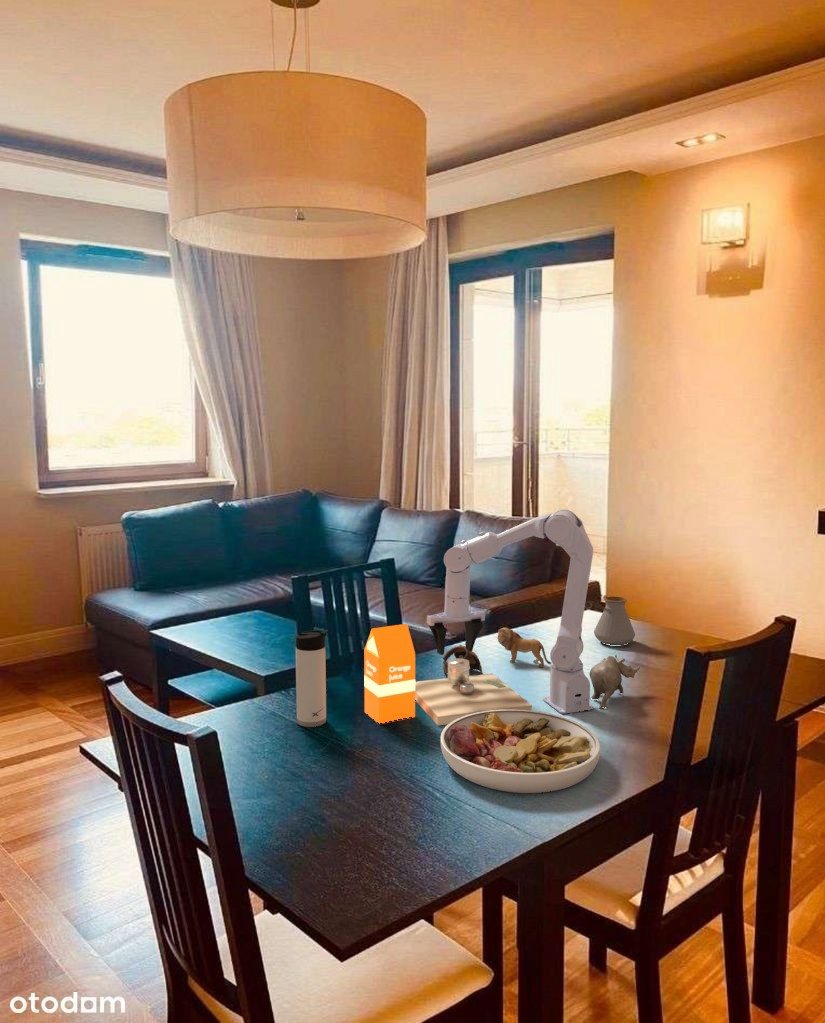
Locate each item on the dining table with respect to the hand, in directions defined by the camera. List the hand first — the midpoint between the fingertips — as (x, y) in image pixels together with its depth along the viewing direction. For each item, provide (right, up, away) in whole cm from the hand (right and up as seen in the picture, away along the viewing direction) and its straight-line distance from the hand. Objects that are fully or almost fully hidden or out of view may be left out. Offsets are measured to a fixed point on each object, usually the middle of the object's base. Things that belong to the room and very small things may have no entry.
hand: (454, 651), depth 191 cm
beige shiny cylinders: (+1, -7, -3) cm, 8 cm away
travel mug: (-32, -12, -18) cm, 38 cm away
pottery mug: (+3, -8, +14) cm, 16 cm away
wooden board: (+2, -10, -6) cm, 12 cm away
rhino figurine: (+36, -10, -3) cm, 38 cm away
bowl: (+10, -15, -37) cm, 41 cm away
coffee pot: (+44, -5, +37) cm, 58 cm away
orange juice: (-15, -12, -13) cm, 23 cm away
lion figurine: (+19, -7, +22) cm, 30 cm away
